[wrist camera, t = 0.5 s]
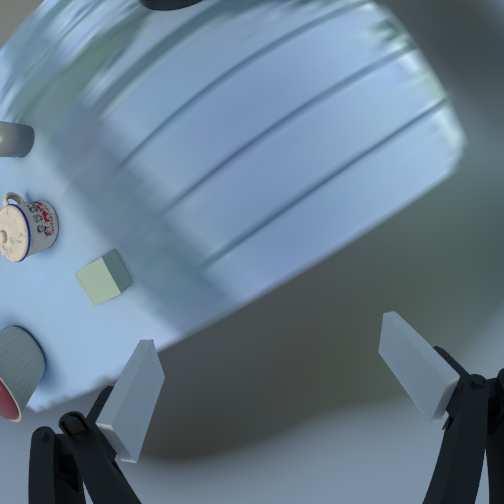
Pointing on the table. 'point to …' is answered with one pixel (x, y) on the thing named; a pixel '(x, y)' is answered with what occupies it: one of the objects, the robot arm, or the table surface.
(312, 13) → the table surface
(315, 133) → the table surface
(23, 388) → the canister
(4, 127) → the grey rounded piece
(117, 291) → the sage green block
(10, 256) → the teacup with lid
